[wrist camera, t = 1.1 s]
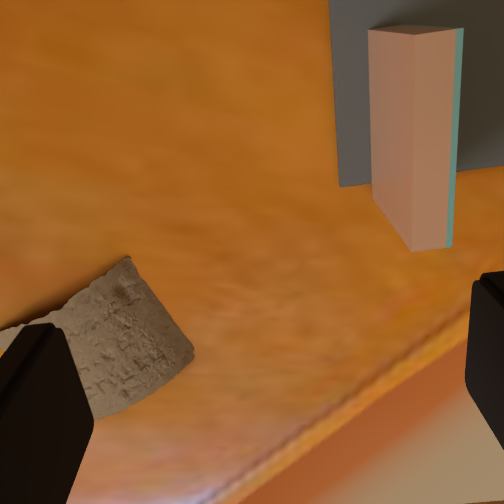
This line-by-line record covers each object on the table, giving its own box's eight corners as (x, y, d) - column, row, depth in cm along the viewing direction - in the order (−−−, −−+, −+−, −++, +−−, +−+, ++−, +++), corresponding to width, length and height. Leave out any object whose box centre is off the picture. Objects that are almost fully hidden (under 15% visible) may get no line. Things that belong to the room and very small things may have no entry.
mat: (322, -117, 24) (323, -119, 24) (647, -169, 24) (653, -172, 23) (339, 185, 31) (340, 187, 31) (590, 151, 31) (594, 152, 30)
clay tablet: (133, 246, 34) (125, 264, 31) (212, 346, 38) (210, 369, 35) (-21, 335, 37) (-40, 358, 34) (67, 419, 41) (56, 445, 38)
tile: (367, 29, 27) (414, 34, 20) (403, 24, 27) (463, 27, 20) (372, 197, 31) (411, 252, 24) (402, 193, 31) (452, 246, 24)
